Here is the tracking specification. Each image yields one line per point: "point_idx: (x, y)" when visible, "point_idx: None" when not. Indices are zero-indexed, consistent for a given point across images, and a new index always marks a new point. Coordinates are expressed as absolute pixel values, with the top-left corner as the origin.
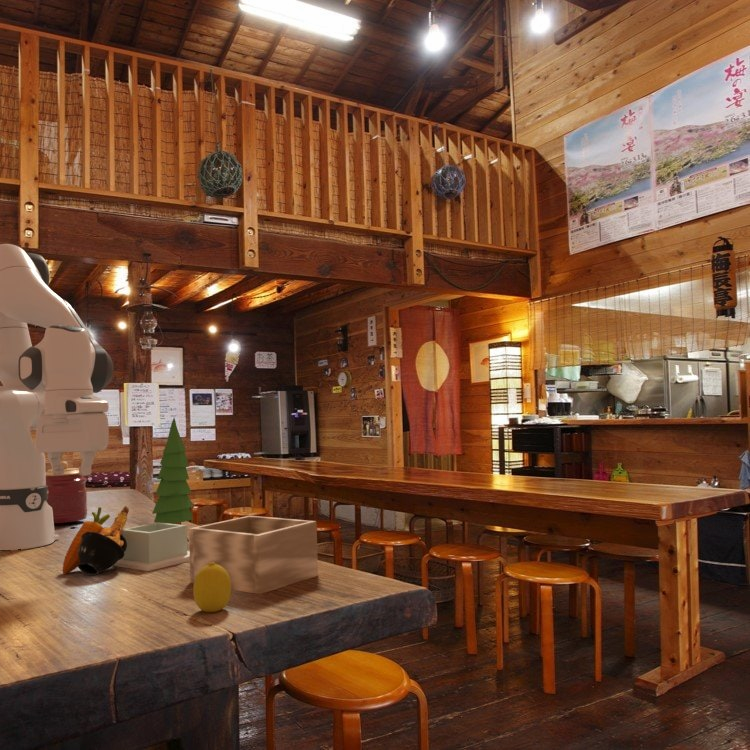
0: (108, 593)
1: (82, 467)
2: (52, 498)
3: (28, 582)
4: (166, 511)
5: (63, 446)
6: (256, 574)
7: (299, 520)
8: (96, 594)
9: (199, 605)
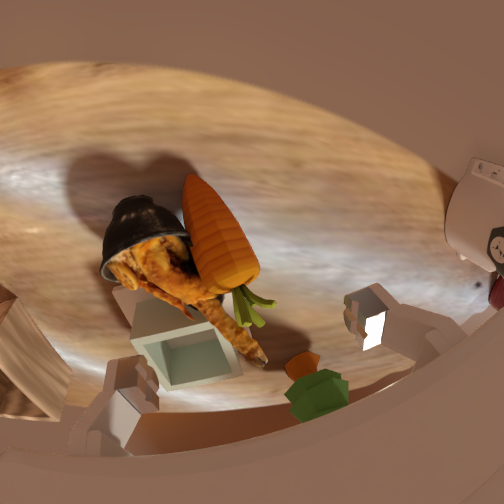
0: (25, 205)
1: (105, 386)
2: None
3: (200, 111)
4: (302, 394)
5: (259, 474)
6: None
7: (6, 415)
8: (29, 189)
9: None
